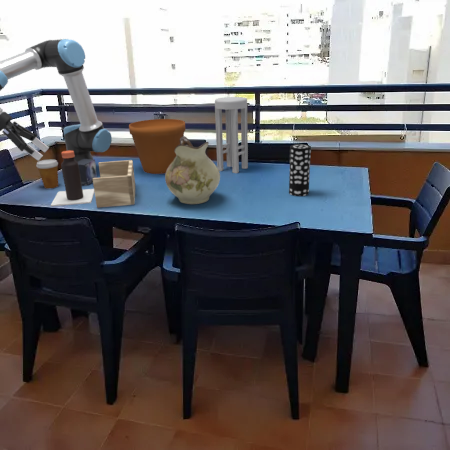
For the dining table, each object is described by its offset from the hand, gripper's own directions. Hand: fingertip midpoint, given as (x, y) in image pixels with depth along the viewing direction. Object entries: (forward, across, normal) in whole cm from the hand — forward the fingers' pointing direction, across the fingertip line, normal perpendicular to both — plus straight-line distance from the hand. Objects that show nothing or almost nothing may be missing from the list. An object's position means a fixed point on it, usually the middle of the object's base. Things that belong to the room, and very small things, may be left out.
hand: (44, 154), depth 179 cm
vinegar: (+21, +2, -6) cm, 22 cm away
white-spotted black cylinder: (+85, +19, +62) cm, 107 cm away
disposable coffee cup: (+12, -21, -17) cm, 30 cm away
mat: (+21, -1, -7) cm, 22 cm away
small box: (+23, -23, -6) cm, 33 cm away
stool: (+72, -26, +47) cm, 90 cm away
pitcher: (+55, +15, +29) cm, 64 cm away
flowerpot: (+48, -37, +21) cm, 64 cm away
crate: (+33, +2, +6) cm, 34 cm away
